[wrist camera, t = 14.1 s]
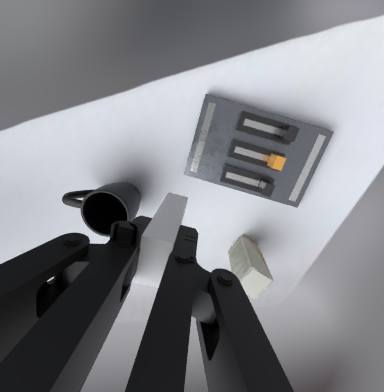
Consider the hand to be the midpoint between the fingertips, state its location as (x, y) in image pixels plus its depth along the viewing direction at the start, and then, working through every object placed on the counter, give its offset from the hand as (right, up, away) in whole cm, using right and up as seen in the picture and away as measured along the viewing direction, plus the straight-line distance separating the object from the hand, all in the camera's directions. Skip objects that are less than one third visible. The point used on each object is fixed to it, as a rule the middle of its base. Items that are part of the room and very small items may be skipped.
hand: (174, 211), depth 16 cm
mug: (-14, +2, +27) cm, 30 cm away
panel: (+12, +9, +22) cm, 27 cm away
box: (+12, -10, +28) cm, 32 cm away
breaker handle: (+15, +7, +19) cm, 25 cm away
